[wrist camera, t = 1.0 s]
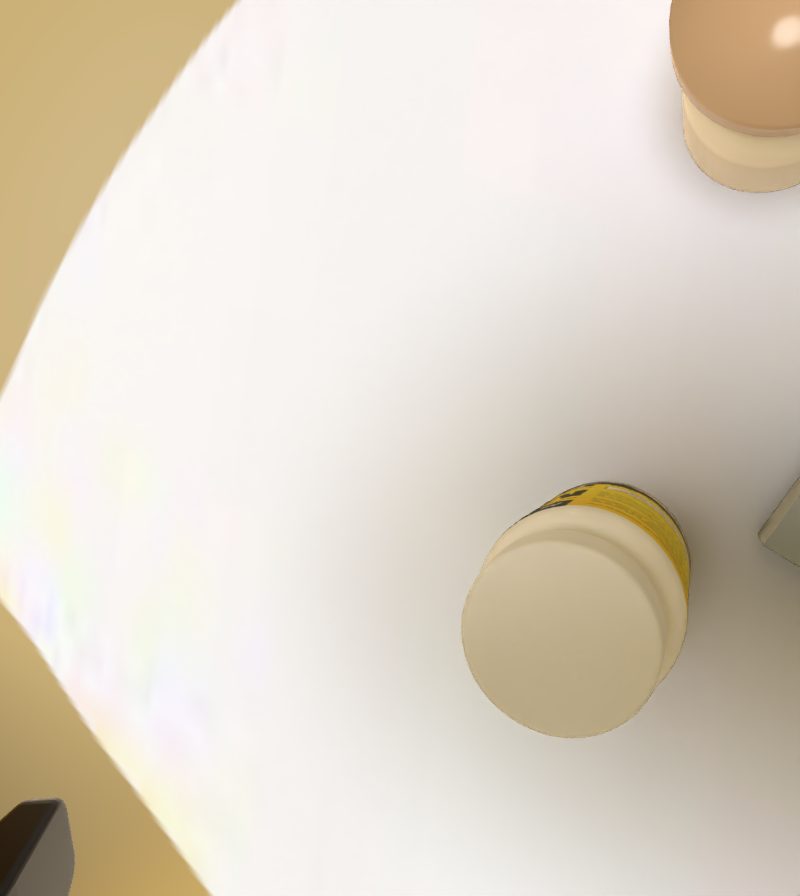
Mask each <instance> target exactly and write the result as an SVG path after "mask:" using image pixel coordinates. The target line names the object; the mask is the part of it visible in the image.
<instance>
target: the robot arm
mask: <svg viewBox="0 0 800 896" xmlns="http://www.w3.org/2000/svg"><path fill="white" fill-rule="evenodd" d="M74 865H75V855H74V848H73V842H72V836H71V830H70V824H69V818H68V812H67V808H66V805H65V803H64V801H63V800H62V799H59V798H47V799H30V800H26V801H23V802H21V803H20V804H18V805H17V806H16V807H15V808H14V809H12V811H10V812H9V813H8V814H7V815H6V816H5V817H3V818H2V819H1V820H0V896H69V892H70V888H71V884H72V879H73V874H74Z"/></svg>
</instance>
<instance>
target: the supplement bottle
mask: <svg viewBox="0 0 800 896" xmlns="http://www.w3.org/2000/svg"><path fill="white" fill-rule="evenodd" d="M689 579H690V555H689V549H688V545H687V542H686V539H685V536H684V534H683V531H682V530H681V528H680V526H679V524H678V523H677V521H676V520H675V518H674V517H673V516H672V514H671V513H670V512H669V511H668V510H667V509H666V508H665V507H664V506H663V505H662V504H661V503H660V502H659V501H657V500H656V499H655V498H653V497H652V496H650V495H649V494H647V493H645V492H643V491H641V490H639V489H637V488H634V487H631V486H628V485H624V484H620V483H613V482H595V483H588V484H583V485H580V486H577V487H574V488H572V489H569V490H567V491H565V492H563V493H561V494H559V495H558V496H556V497H555V498H553V499H552V500H551V501H549V502H547V503H545V504H544V505H543V506H541V507H540V508H538V509H536V510H535V511H533V512H531V513H530V514H529V515H527V516H525V517H523V518H522V519H521V520H519V521H518V522H516V523H515V524H514V525H513V526H511V527H510V528H509V529H508V530H507V531H506V532H504V533H503V535H502V536H501V537H500V539H499V540H498V541H497V542H496V543H495V545H494V546H493V548H492V549H491V551H490V553H489V554H488V556H487V558H486V560H485V562H484V564H483V567H482V570H481V572H480V574H479V576H478V577H477V579H476V580H475V582H474V584H473V585H472V587H471V589H470V591H469V594H468V596H467V599H466V602H465V606H464V610H463V615H462V642H463V647H464V652H465V657H466V659H467V662H468V665H469V668H470V670H471V672H472V674H473V676H474V678H475V680H476V682H477V683H478V685H479V687H480V688H481V689H482V691H483V692H484V693H485V695H486V696H487V697H488V698H489V699H490V701H491V702H492V703H493V704H494V705H495V706H496V707H498V708H499V709H500V710H501V711H502V712H503V713H504V714H506V715H507V716H508V717H510V718H512V719H513V720H515V721H516V722H518V723H520V724H521V725H523V726H526V727H528V728H530V729H532V730H535V731H537V732H540V733H543V734H547V735H551V736H556V737H563V738H581V737H590V736H595V735H598V734H602V733H605V732H608V731H610V730H612V729H614V728H616V727H618V726H620V725H621V724H623V723H625V722H626V721H628V720H629V719H630V718H632V717H633V716H634V715H635V714H636V713H637V712H638V711H639V710H640V709H641V708H642V706H643V705H644V704H645V703H646V702H647V700H648V699H649V697H650V696H651V694H652V692H653V690H654V688H655V687H656V686H657V685H658V684H659V683H660V682H661V681H662V680H663V679H664V678H665V677H666V675H667V674H668V672H669V671H670V669H671V668H672V666H673V664H674V662H675V660H676V659H677V657H678V655H679V653H680V651H681V648H682V645H683V642H684V638H685V634H686V628H687V620H688V594H689V593H688V591H689Z"/></svg>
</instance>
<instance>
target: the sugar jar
mask: <svg viewBox="0 0 800 896" xmlns="http://www.w3.org/2000/svg"><path fill="white" fill-rule="evenodd" d="M669 29H670V48H671V57H672V63H673V68H674V71H675V74H676V77H677V80H678V82H679V84H680V86H681V88H682V105H683V131H684V137H685V142H686V145H687V148H688V151H689V153H690V155H691V157H692V159H693V160H694V162H695V163H696V164H697V166H698V167H699V168H700V169H701V170H702V171H703V172H704V173H705V174H706V175H707V176H708V177H710V178H711V179H712V180H714V181H716V182H717V183H719V184H721V185H723V186H726V187H728V188H731V189H734V190H739V191H743V192H753V193H759V192H772V191H778V190H782V189H786V188H789V187H792V186H795V185H797V184H800V0H672V3H671V9H670V19H669Z"/></svg>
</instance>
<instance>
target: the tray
mask: <svg viewBox="0 0 800 896" xmlns="http://www.w3.org/2000/svg"><path fill="white" fill-rule="evenodd" d="M758 536H759V538H760V540H761V542H762V544H763V545H764V546H765V547H767V548H769V549H770V550H772V551H774V552H775V553H777V554H779V555H780V556H782V557H784V558H785V559H787V560H789V561H790V562H792V563H793V564H795V565H797V566H798V567H800V477H799V478H798V480H797V481H796V482H795V484H794V485H793V486H792V488H791V489H790V490H789V492H788V493H787V495H786V496H785V497H784V499H783V500H782V501H781V503H780V504H779V506H778V507H777V508H776V510H775V511H774V512H773V514H772V515H771V517H770V518H769V519H768V521H767V522H766V523H765V525H764V526H763V527H762V529H761V530H760V532H759V533H758Z"/></svg>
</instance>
